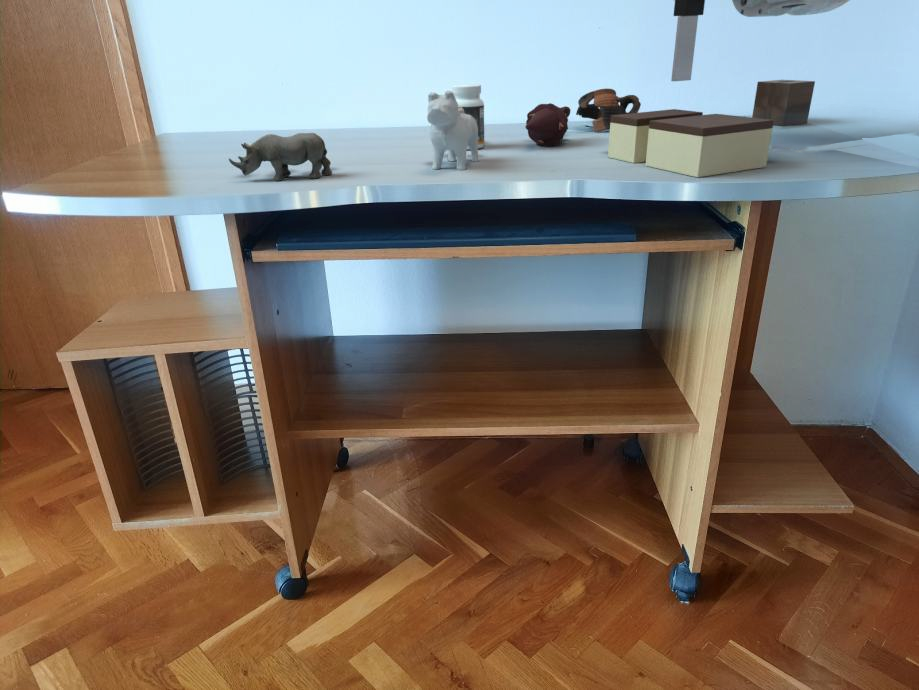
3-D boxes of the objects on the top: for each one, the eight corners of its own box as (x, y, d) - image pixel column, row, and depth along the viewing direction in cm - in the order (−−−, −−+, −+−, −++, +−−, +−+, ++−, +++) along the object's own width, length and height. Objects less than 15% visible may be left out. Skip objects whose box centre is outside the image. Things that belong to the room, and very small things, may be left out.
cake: (766, 167, 86) (774, 120, 83) (697, 177, 81) (703, 128, 79) (710, 156, 94) (716, 113, 91) (645, 165, 89) (649, 120, 87)
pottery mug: (579, 135, 120) (571, 93, 121) (584, 151, 129) (577, 112, 130) (644, 117, 117) (635, 74, 117) (645, 134, 126) (637, 94, 126)
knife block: (806, 129, 115) (815, 81, 111) (782, 132, 112) (790, 83, 109) (773, 125, 120) (781, 79, 117) (750, 128, 118) (757, 81, 115)
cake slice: (697, 154, 96) (703, 112, 93) (633, 163, 91) (637, 119, 89) (670, 149, 101) (674, 109, 98) (607, 157, 96) (610, 115, 94)
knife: (695, 80, 88) (712, -57, 81) (678, 81, 87) (693, -57, 80) (683, 79, 90) (698, -54, 83) (666, 80, 89) (680, -55, 82)
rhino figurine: (235, 178, 91) (227, 134, 89) (332, 172, 93) (327, 129, 90) (230, 184, 88) (222, 139, 85) (331, 178, 89) (326, 133, 87)
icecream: (553, 110, 98) (589, 109, 110) (512, 97, 101) (552, 97, 113) (540, 155, 102) (577, 149, 113) (501, 141, 104) (541, 136, 116)
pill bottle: (449, 150, 107) (446, 87, 103) (454, 145, 112) (451, 84, 108) (482, 150, 106) (481, 86, 102) (486, 144, 111) (485, 83, 107)
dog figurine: (421, 174, 90) (415, 93, 85) (449, 158, 100) (446, 85, 96) (457, 175, 88) (453, 92, 83) (482, 158, 99) (480, 84, 94)
